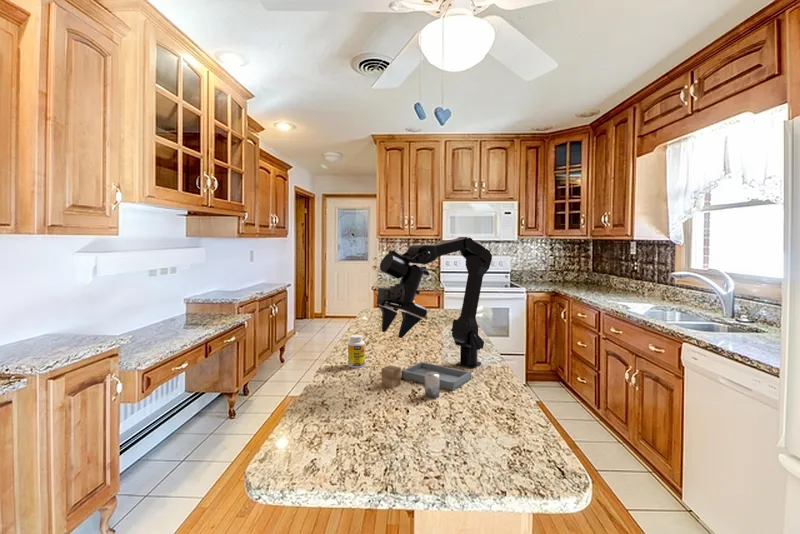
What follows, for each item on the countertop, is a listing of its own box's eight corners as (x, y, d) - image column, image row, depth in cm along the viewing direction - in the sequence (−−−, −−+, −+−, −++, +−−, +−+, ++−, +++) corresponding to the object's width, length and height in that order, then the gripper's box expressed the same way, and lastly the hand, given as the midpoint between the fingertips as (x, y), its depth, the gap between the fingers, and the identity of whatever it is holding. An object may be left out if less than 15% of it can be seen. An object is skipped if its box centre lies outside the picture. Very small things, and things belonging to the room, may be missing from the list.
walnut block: (389, 381, 119) (389, 365, 119) (400, 384, 117) (400, 367, 116) (381, 385, 116) (381, 368, 115) (392, 388, 113) (392, 371, 113)
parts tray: (421, 368, 131) (421, 361, 131) (471, 379, 120) (471, 372, 120) (401, 377, 122) (401, 370, 122) (453, 390, 111) (453, 382, 111)
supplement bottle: (352, 369, 130) (352, 338, 129) (345, 365, 134) (345, 335, 134) (367, 366, 133) (367, 336, 132) (360, 362, 138) (359, 333, 137)
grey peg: (429, 391, 111) (429, 370, 110) (442, 395, 108) (442, 373, 108) (421, 396, 108) (421, 374, 107) (434, 399, 105) (434, 377, 105)
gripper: (372, 272, 122) (354, 321, 119) (405, 276, 106) (385, 332, 104) (400, 285, 128) (383, 332, 125) (435, 290, 112) (417, 344, 109)
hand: (391, 334), depth 116 cm, fingers open, 9 cm apart
